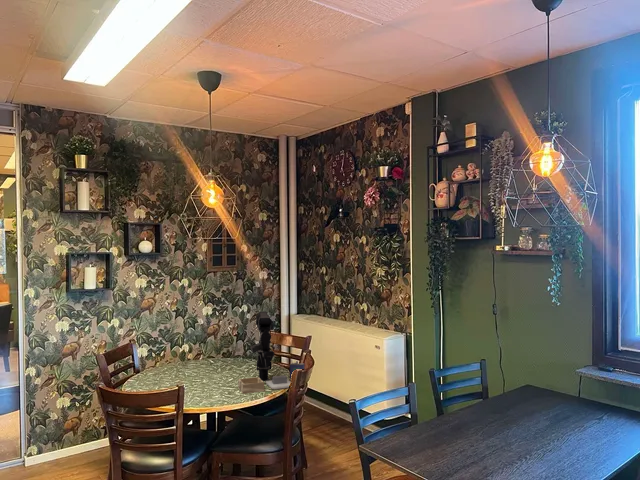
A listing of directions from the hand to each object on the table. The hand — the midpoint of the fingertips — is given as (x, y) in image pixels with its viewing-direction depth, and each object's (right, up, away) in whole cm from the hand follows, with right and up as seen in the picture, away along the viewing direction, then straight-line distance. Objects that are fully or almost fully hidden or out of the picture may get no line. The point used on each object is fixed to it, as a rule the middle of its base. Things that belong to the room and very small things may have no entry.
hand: (264, 365), depth 277 cm
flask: (+18, -12, +17) cm, 28 cm away
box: (-7, -12, -6) cm, 15 cm away
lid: (+8, -12, 0) cm, 15 cm away
